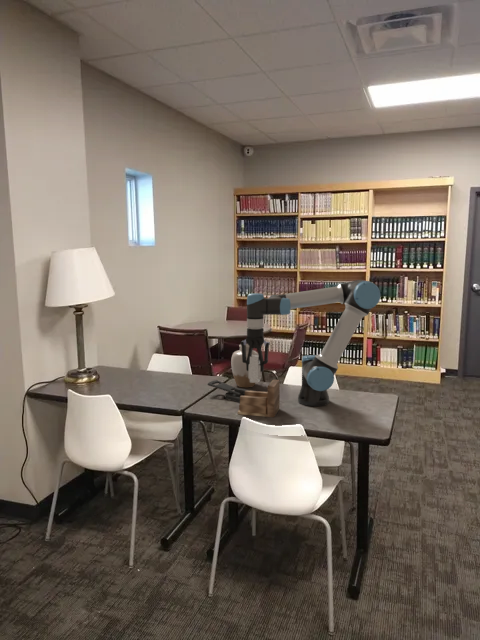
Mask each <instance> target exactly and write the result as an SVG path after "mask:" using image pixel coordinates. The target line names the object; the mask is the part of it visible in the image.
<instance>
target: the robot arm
mask: <svg viewBox="0 0 480 640" xmlns="http://www.w3.org/2000/svg"><path fill="white" fill-rule="evenodd" d="M264 296H265V295H264V293H259V292H258V293H255V292H254V293H253V292H252V293H249V294H247V297H246V327H247V328H246V338H245V339H244V340H242V341H240V344H241V346H242V362H243V363H246V370H247V371H249V374H248V379H250V356H251V355H252V350H253V351H254V349H257V351H256V352H257V353H258V355H259V360H260V364H259V379H260V380H262V376H263V375H262V373H263V372H265V370H264V367H265V365H266V364H267V363H268V362H269V347H270V344H271V343H270V341H266V340H265V337H264V331H265V330H264V321H265V319H264V316H278V315H279V316H284V315H285V316H286V315H290V313H291V310H294V309H302V308H307V307H308V308H310V307H316V306H323V305H329V304H330V305H331V304H336V303H340V304H341V305H344V306H345V309H344V311H343V312H342V314H341V316H340V317H339V319H338V321H337V323H336V325H335V327H334V328H333V331H332V332H331V333H330V336H329V338H328V339H327V341H326V343H325V344H324V346H323V348H322V349H321V351H320V353H318V354H315V355H313V354H311V355H309V354H308V355H303V356H302V359H301V387H300V390H299V394H298V396H297V402H298V403H299V404H301V405H303V406H309V407H322V406H326V405H328V404H329V403H330V396H329V393H328V390H329V389H330V388H331V387H332V386H333V385H334V384H333V383H334V382H335V381H334V380H335V375H336V374H337V371H338V369H339V366H338V363H339V360H340V358H341V357H342V355H343V354H344V352H345V350H346V349H347V346H348V344H349V343H350V341H351V338H352V337H353V335H354V334H355V331H356V330H357V329H358V326H359V325H360V323H361V321H362V319H363V318H364V317H366V316H369V314H370V312H371V310H372V309H373V308H375V307H376V306H377V305H378V303H379V302H380V300H381V291H380V288H379V287H378V286H377V284H375V283H373V282H372V281H369V280H363V279H357V280H352V281H348V282H344V283H338V285H336V286H332V287H325V288H324V287H323V288H317V289H312V290H304V291H298V292H291V293H290V292H289V293H285V294H284V293H283V294H272V295H270V296H269V297H264ZM246 344H248V345H249V352H248V356H247V360H246ZM263 344H264V355H263V350H262V345H263Z"/></svg>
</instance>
